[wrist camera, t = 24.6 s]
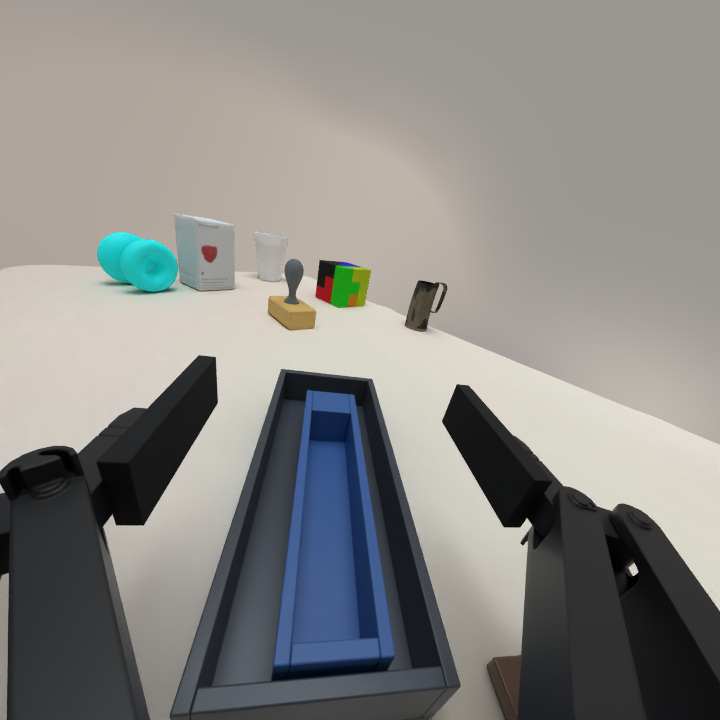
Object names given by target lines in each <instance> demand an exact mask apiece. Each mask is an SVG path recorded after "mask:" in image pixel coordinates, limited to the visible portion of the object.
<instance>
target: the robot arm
mask: <svg viewBox="0 0 720 720" xmlns="http://www.w3.org/2000/svg"><path fill="white" fill-rule="evenodd" d="M217 403H218V397H217V375H216V357H209V356H200V355H199V356H198V357H197V358H196V359H195V360H194V361H193V362H192V363H191V364H190V365H189V366H188V367H187V368H186V369H185V370H184V371H183V372H182V373H181V374H180V375H179V376H178V377H177V379H176V380H175V381H174V382H173V383H172V384H171V385H170V386H169V387H168V388H167V389H166V390H165V391H164V392H163V393H162V394H161V395H160V396H159V397H158V398H157V399H156V400H155V401H154V402H153V403H152V404H151V405H150V406H149V408H148V409H145V408H133V409H131V410H129V411H127V412H125V413H123V414H121V415H119V416H118V417H117V418H116V419H115V420H114V421H113V422H112V423H110V424H109V425H108V428H105V429H104V430H103V431H102V432H101V433H100V434H99V436H96V437H95V438H94V439H93V440H92V441H91V442H90V443H89V444H88V445H87V446H86V447H85V448H84V449H82V450H81V451H80V452H79V453H78V454H77V453H76V451H75V450H74V449H73V448H70V447H67V446H51V447H46V448H42V449H38V450H35V451H32V452H29V453H27V454H24V455H22V456H20V457H19V458H17V459H15V460H13V461H11V462H10V463H9V464H8V465H6V466H5V467H4V468H3V469H2V470H1V471H0V484H1V486H2V488H3V490H4V491H5V493H2V494H0V579H1V576H2V575H3V574H7V573H9V612H8V683H7V720H150V718H149V714H148V710H147V706H146V701H145V697H144V693H143V689H142V685H141V681H140V676H139V672H138V668H137V664H136V660H135V656H134V651H133V647H132V643H131V639H130V635H129V631H128V626H127V622H126V618H125V614H124V610H123V606H122V601H121V597H120V593H119V589H118V585H117V581H116V576H115V572H114V568H113V564H112V560H111V556H110V551H109V547H108V543H107V539H106V535H105V531H104V528H103V526H104V525H105V523H106V522H107V521H108V519H109V518H110V517H111V515H112V514H113V517H114V520H115V523H116V525H144V524H145V522H146V521H147V519H148V517H149V516H150V514H151V512H152V511H153V509H154V507H155V506H156V504H157V502H158V501H159V499H160V497H161V496H162V494H163V493H164V491H165V489H166V488H167V486H168V484H169V483H170V481H171V479H172V478H173V476H174V474H175V473H176V471H177V469H178V468H179V466H180V464H181V463H182V461H183V459H184V458H185V456H186V454H187V453H188V451H189V450H190V448H191V446H192V445H193V443H194V441H195V440H196V438H197V436H198V435H199V433H200V431H201V430H202V428H203V426H204V425H205V423H206V421H207V420H208V418H209V416H210V415H211V413H212V412H213V410H214V408H215V407H216V405H217ZM442 422H443V424H444V426H445V427H446V429H447V431H448V433H449V434H450V436H451V438H452V439H453V441H454V443H455V445H456V446H457V448H458V450H459V451H460V453H461V455H462V457H463V458H464V460H465V462H466V463H467V465H468V467H469V469H470V470H471V472H472V474H473V475H474V477H475V479H476V480H477V482H478V484H479V486H480V487H481V489H482V491H483V492H484V494H485V496H486V498H487V499H488V501H489V503H490V504H491V506H492V508H493V510H494V511H495V513H496V515H497V516H498V518H499V520H500V521H501V523H502V525H503V527H521V526H522V524H523V523H524V521H525V520H526V518H528V520H529V521H530V522H531V524H532V527H531V528H530V530H529V531H528V532H527V534H526V535H525V536H524V538H523V539H522V541H521V543H520V544H522V545H524V544H525V542H527V541H528V552H527V568H526V585H525V601H524V618H523V634H522V651H521V667H520V684H519V700H518V717H517V720H720V611H719V609H718V608H717V607H716V605H715V604H714V602H713V601H712V600H711V598H710V597H709V595H708V594H707V593H706V591H705V590H704V588H703V587H702V586H701V584H700V583H699V581H698V580H697V579H696V577H695V576H694V574H693V573H692V572H691V570H690V569H689V567H688V566H687V565H686V563H685V562H684V560H683V559H682V558H681V556H680V555H679V554H678V552H677V551H676V549H675V548H674V547H673V545H672V544H671V542H670V541H669V540H668V538H667V537H666V535H665V534H664V533H663V531H662V530H661V528H660V527H659V526H658V525H657V524H656V523H655V522H654V521H653V520H652V519H651V518H650V517H649V516H648V515H647V514H645V513H644V512H642V511H641V510H639V509H637V508H634V507H632V506H630V505H627V504H618V505H617V506H616V507H615V508H614V510H613V511H610V510H606V509H603V508H600V507H597V506H596V505H595V503H594V502H593V501H592V500H591V499H590V498H588V497H587V496H586V495H585V494H583V493H581V492H580V491H578V490H576V489H573V488H571V487H566V486H563V485H562V484H561V483H560V482H559V481H558V480H557V478H556V477H555V476H554V475H553V474H552V473H551V472H550V471H549V470H548V468H547V467H546V466H545V465H544V464H543V463H542V462H541V461H539V459H538V457H537V456H536V455H535V454H533V452H532V451H531V450H530V449H529V447H528V446H527V445H526V444H525V443H523V442H522V441H521V440H519V439H518V438H517V437H515V436H513V435H512V434H511V433H510V432H509V431H508V430H507V429H506V427H505V426H504V425H503V424H502V423H501V422H500V421H499V419H498V418H497V417H496V416H495V415H494V414H493V413H492V411H491V410H490V409H489V408H488V407H487V406H486V405H485V404H484V402H483V401H482V400H481V399H480V398H479V397H478V396H477V394H476V393H475V392H474V391H473V390H472V389H471V388H470V386H467V385H459V384H457V385H456V388H455V390H454V393H453V395H452V398H451V400H450V403H449V405H448V408H447V410H446V413H445V415H444V418H443V420H442ZM633 563H635V565H636V566H637V569H638V573H637V574H636V575H635V576H632V574H631V572H630V571H629V569H628V568H629V567H630V566H631V565H632V564H633Z"/></svg>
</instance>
